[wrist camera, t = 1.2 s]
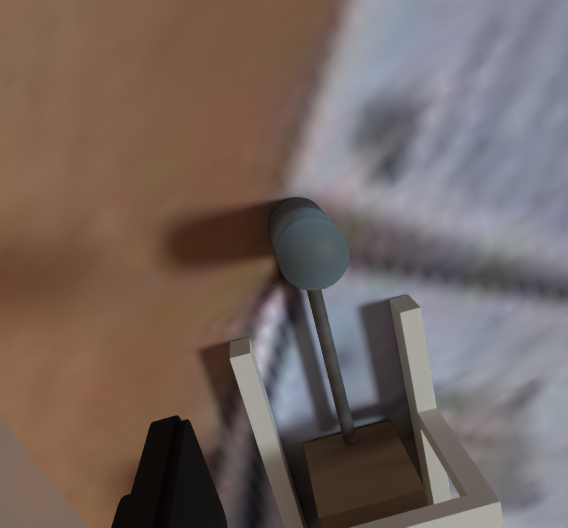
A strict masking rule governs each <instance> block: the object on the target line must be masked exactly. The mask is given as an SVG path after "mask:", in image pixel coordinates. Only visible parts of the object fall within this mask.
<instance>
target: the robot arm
mask: <svg viewBox="0 0 568 528" xmlns="http://www.w3.org/2000/svg"><path fill="white" fill-rule="evenodd" d="M111 528H227V521H226V516H225V513H224V510H223V507H222V504H221V502H220V499H219V496H218V494H217V491H216V488H215V486H214V483H213V481H212V478H211V475H210V473H209V470H208V467H207V465H206V462H205V459H204V457H203V454H202V451H201V449H200V446H199V443H198V441H197V438H196V435H195V433H194V430H193V427H192V425H191V423H190V421H189V420H188V419H186V420H183V421H181V419H180V417H179V416H177V415H176V416H172V417H168V418H165V419H161V420H158V421H154V422H152V423H151V425H150V427H149V431H148V435H147V438H146V442H145V445H144V449H143V452H142V456H141V459H140V463H139V467H138V470H137V474H136V477H135V481H134V484H133V488H132V491H131V494H128V495H125V496H123V497H122V498H121V500H120V502H119V504H118V507H117V511H116V514H115V517H114V520H113V524H112V527H111Z"/></svg>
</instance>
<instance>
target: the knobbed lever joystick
mask: <svg viewBox="0 0 568 528" xmlns="http://www.w3.org/2000/svg"><path fill="white" fill-rule="evenodd" d="M269 232H270V236H271V239H272V243H273V246H274V250H275V253H276V257H277V260H278V264H279V267H280V270H281V272H282V274H283V276H284V277H285V278H286V279H287V280H288V281H289V282H290V283H291V284H292V285H294V286H296V287H298V288H300V289H304V290H307V293H308V297H309V301H310V305H311V309H312V313H313V317H314V321H315V325H316V330H317V334H318V338H319V342H320V346H321V350H322V354H323V358H324V362H325V366H326V370H327V374H328V378H329V382H330V386H331V390H332V395H333V399H334V403H335V407H336V411H337V415H338V419H339V423H340V427H341V431H342V433H341V434H337V435H333V436H330V437H326V438H322V439H319V440H315V441H311V442H308V443H304V444H303V445H304V449H305V454H306V459H307V464H308V469H309V474H310V479H311V484H312V489H313V493H314V498H315V503H316V508H317V513H318V518H319V522H320V525H321V528H350V527H354V526H357V525H361V524H364V523H368V522H372V521H375V520H379V519H383V518H386V517H390V516H393V515H397V514H401V513H404V512H408V511H412V510H415V509H419V508H423V507H426V506H428V500H427V495H426V489H425V487H424V485H423V483H422V481H421V479H420V477H419V475H418V473H417V471H416V469H415V467H414V465H413V463H412V462H411V460H410V458H409V456H408V454H407V452H406V450H405V448H404V446H403V444H402V442H401V440H400V438H399V436H398V434H397V432H396V430H395V428H394V426H393V424H392V422H391V420H389V421H385V422H381V423H378V424H374V425H370V426H367V427H363V428H359V429H356V430H354V427H353V423H352V419H351V414H350V410H349V406H348V402H347V397H346V393H345V389H344V385H343V380H342V376H341V372H340V367H339V363H338V359H337V355H336V350H335V346H334V342H333V338H332V333H331V329H330V325H329V321H328V316H327V312H326V308H325V304H324V299H323V295H322V291H321V289H324V288H327V287H329V286H331V285H333V284H334V283H335V282H337V281H338V280H339V279H340V278H341V277H342V275H343V274H344V272H345V271H346V269H347V266H348V263H349V259H350V249H349V245H348V242H347V240H346V238H345V236H344V235H343V233H342V232H341V231H340V230H339V229H338V228H337V227H336V225H335V224H334V223H333V222H332V221H331V220H330V219H329V218H328V217H327V215H326V214H325V213H324V212H323V211H322V210H321V209H320V208H319V206H318V205H317V204H315V203H314V202H313V201H311V200H309V199H306V198H300V197H295V198H290V199H287V200H285V201H283V202H281V203H280V204H279V205H278V206H277V207H276V208H275V209H274V211H273V212H272V214H271V217H270V220H269Z"/></svg>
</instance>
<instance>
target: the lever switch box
mask: <svg viewBox="0 0 568 528" xmlns="http://www.w3.org/2000/svg"><path fill="white" fill-rule="evenodd" d="M389 302H390V307H391V313H392V318H393V324H394V329H395V335H396V340H397V345H398V351H399V356H400V362H401V367H402V373H403V378H404V383H405V389H406V394H407V400H408V405H409V411H410V416H411V421H412V427H413V432H414V438H415V443H416V449H417V454H418V459H419V465H420V470H421V476H422V481H423V485H424V487H425V489H426V495H427V500H428V506H426V507H423V508H419V509H415V510H412V511H408V512H404V513H401V514H397V515H393V516H390V517H386V518H383V519H379V520H375V521H372V522H368V523H364V524H361V525H357V526H354V527H350V528H503V520H502V511H501V503H500V500H499V499H498V497H497V496H496V494H495V493H494V491H493V490H492V489H491V487H490V486H489V484H488V483H487V481H486V480H485V478H484V477H483V475H482V474H481V472H480V471H479V469H478V468H477V467H476V465H475V464H474V462H473V461H472V459H471V458H470V456H469V455H468V453H467V452H466V450H465V449H464V448H463V446H462V445H461V443H460V442H459V440H458V439H457V437H456V436H455V434H454V433H453V431H452V430H451V428H450V427H449V426H448V424H447V423H446V421H445V420H444V418H443V417H442V415H441V414H440V412H439V411H438V409H437V408H436V402H435V395H434V389H433V383H432V377H431V371H430V364H429V358H428V352H427V346H426V339H425V333H424V327H423V321H422V315H421V308H420V307H419V306H418V304H417V303H416V302H415V301H414V300H413V299H412V298H411V297H410V296H409V295H404V296H401V297H397V298H393V299H389ZM230 361H231V364H232V367H233V370H234V373H235V376H236V380H237V383H238V386H239V389H240V392H241V395H242V398H243V401H244V404H245V407H246V411H247V414H248V417H249V420H250V423H251V426H252V429H253V432H254V435H255V439H256V442H257V445H258V448H259V451H260V454H261V457H262V460H263V463H264V466H265V470H266V473H267V476H268V479H269V482H270V485H271V488H272V491H273V494H274V497H275V501H276V504H277V507H278V510H279V513H280V516H281V519H282V522H283V525H284V528H307V527H306V523H305V520H304V517H303V514H302V510H301V507H300V504H299V500H298V497H297V494H296V490H295V487H294V484H293V480H292V477H291V474H290V470H289V467H288V464H287V460H286V457H285V454H284V450H283V447H282V444H281V440H280V437H279V434H278V431H277V427H276V424H275V421H274V417H273V414H272V411H271V407H270V404H269V401H268V397H267V394H266V391H265V387H264V384H263V381H262V377H261V374H260V371H259V367H258V364H257V361H256V357H255V354H254V351H253V348H252V344H251V341H250V338H249V337H247V338H243V339H240V340H236V341H232V342H230ZM447 475H448V476H449V478H450V480H451V481H452V483H453V485H454V486H455V488H456V490H457V492H458V493H459V495H460V497H459V498H455V499H452V500H451V495H450V489H449V482H448V476H447ZM318 528H321V527H318Z"/></svg>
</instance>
